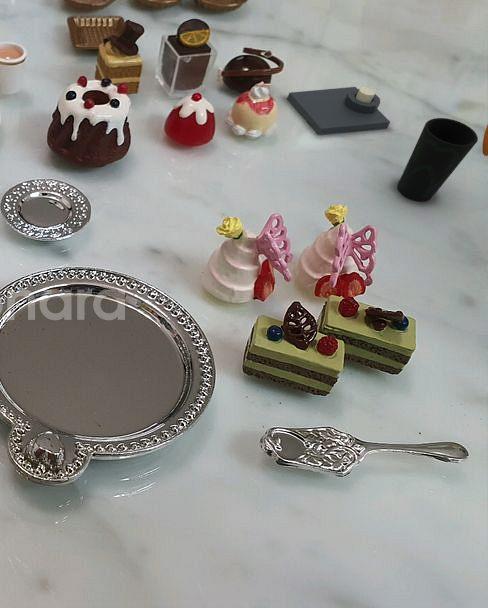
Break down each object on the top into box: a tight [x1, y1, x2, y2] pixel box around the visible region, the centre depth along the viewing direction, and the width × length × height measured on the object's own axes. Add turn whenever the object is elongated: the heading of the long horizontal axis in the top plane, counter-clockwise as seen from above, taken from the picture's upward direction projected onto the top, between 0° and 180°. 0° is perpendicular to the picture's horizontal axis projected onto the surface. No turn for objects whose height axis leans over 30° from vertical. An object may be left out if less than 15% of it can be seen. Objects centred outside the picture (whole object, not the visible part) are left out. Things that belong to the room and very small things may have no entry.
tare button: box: [356, 86, 376, 103], centre depth 140 cm, size 3×3×2 cm
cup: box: [396, 117, 479, 203], centre depth 123 cm, size 8×8×12 cm
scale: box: [286, 86, 391, 136], centre depth 141 cm, size 14×12×3 cm
